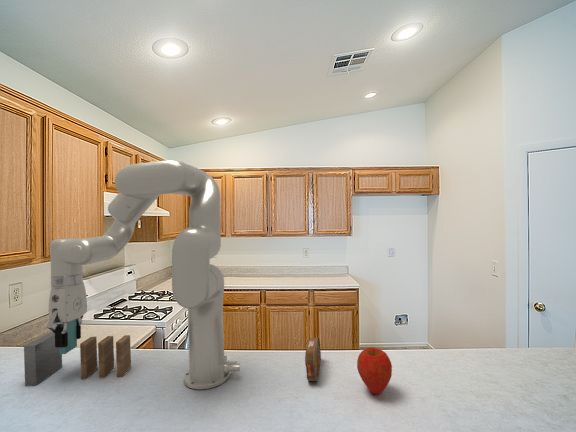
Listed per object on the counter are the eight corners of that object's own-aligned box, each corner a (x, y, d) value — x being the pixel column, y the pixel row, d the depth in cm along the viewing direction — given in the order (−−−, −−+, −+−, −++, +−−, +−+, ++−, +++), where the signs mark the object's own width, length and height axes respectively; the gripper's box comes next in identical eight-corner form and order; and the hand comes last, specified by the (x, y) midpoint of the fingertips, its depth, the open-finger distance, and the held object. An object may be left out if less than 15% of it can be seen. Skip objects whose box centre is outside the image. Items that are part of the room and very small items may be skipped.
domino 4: (131, 368, 91) (130, 335, 91) (122, 376, 86) (121, 342, 86) (125, 368, 91) (124, 335, 91) (116, 377, 86) (115, 342, 86)
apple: (350, 388, 77) (349, 345, 77) (377, 379, 80) (375, 339, 80) (372, 407, 69) (371, 360, 69) (400, 397, 73) (399, 352, 73)
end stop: (62, 367, 93) (61, 331, 93) (36, 385, 83) (35, 345, 83) (52, 367, 93) (51, 332, 93) (25, 386, 83) (23, 346, 83)
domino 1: (76, 346, 90) (76, 313, 90) (65, 354, 85) (64, 318, 85) (71, 346, 90) (70, 313, 90) (59, 354, 85) (58, 319, 85)
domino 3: (114, 368, 91) (113, 335, 91) (104, 377, 86) (103, 342, 86) (108, 369, 91) (107, 336, 91) (99, 378, 86) (97, 343, 86)
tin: (316, 388, 78) (315, 355, 78) (304, 387, 78) (303, 354, 78) (321, 360, 92) (320, 332, 92) (311, 359, 93) (310, 332, 93)
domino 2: (97, 369, 91) (96, 336, 91) (86, 378, 86) (85, 343, 86) (92, 369, 91) (91, 336, 91) (81, 378, 86) (80, 343, 86)
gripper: (59, 287, 80) (60, 355, 80) (97, 274, 97) (98, 331, 97) (30, 288, 79) (31, 356, 79) (73, 275, 96) (74, 331, 96)
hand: (68, 342), depth 88 cm, fingers closed on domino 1, 4 cm apart
